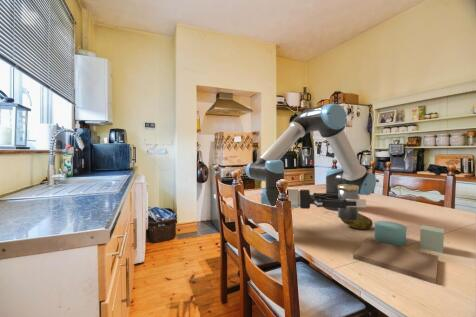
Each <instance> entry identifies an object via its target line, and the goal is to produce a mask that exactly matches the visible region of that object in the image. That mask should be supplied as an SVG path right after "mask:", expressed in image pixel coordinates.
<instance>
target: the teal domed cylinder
mask: <svg viewBox="0 0 476 317" xmlns="http://www.w3.org/2000/svg"><path fill="white" fill-rule="evenodd" d="M374 241H378V242H382V243H386V244H390V245H394V246H399V247H404V246H406V245H407V226H405V225H404V224H401V223H398V222H394V221H388V220H385V221H384V220H380V221H379V220H377V221H375V222H374Z"/></svg>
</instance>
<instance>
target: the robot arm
mask: <svg viewBox="0 0 476 317" xmlns="http://www.w3.org/2000/svg"><path fill="white" fill-rule="evenodd" d="M347 122H348V115H347V111H346V110H345V108H344V107H343V106H342V105H340V104H339V103H327V104H322V105H320V106H313V107H310V108H306V109H305V110H303V111H302V112H300V113H299V114H298V115H297V116H296V117H295V118H293V119H292V120H291V121H290V123H289V124H288V128H287V129H286V130H285V131H284V132H283V133H282V134H281V135H280V136H279V137H278V138H277V139H276V140H275V141H274V142H273V143H272V144H271V145H270V146H269V147H268V149H266V150H265V152H263V154H261V155H260V156H259V157H258V159H256V161H255V162H250V163H248V164H247V165H246V167H245V174H246V176H247V177H248V178H249V179H252V180H255V181H256V180H257V181H261V182H265V187H264V188H262V189H261V190H260V204H261V203H262V204H267V205H271V206H275V205H276V201H277V198H278V195H279V191H278V189H277V187H276V182H277V181H278V180H280V179H284V180H285V168H284V167H285V166H284V161H283V160H281V158H283V156H284V155H285V154H286V153H287V152H288V151H289V150H290V149H291V147H292V146H293V145H294V144H296V143H297V141H298V140H299V139H300V138H303V137H305V135H306V134H308V133H311V132H319V134H320V136H321V138H324V139H326V141H327V143H328V144H329V146H330V148H331V150H332V152H333V154H334V156H335V158H336V160H337V162H338V163H339V165H340V167H341V168H331V169H327V170H326V174H325V192H324V193H323V192H313V194H311V193H310V190H309V189H300V190H299V189H297V188H294V189H293V188H289V189H287V195H288V197H289V199H290V201H291V208H290V209H291V210H294V209H299V207H300V209H303V210H304V209H307V210H309V209H310V208H311V205H314V206H315V207H316V208H324V209H325V210H331V211H336V212H338V208H344V209H346V207H358V208H367V200H366V199H362V198H360V196H369V195H371V194H372V193H373V192H374V190H375V189H376V185H377V184H376V183H377V177H376V175H375V173H372V172H368V170H367V168H366V167H365V165H364V166H363V165H362V164H361V163H360V161H359V159H358V157H357V155H356V153H355V151H354V149H353V146H352V145H351V142H350V139H348V136H347V134H346V132H345V129H346V125H347ZM340 184H351V185H357V186H359V190H358V199H346V200H342V199H338V185H340ZM262 204H261V205H262Z"/></svg>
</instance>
